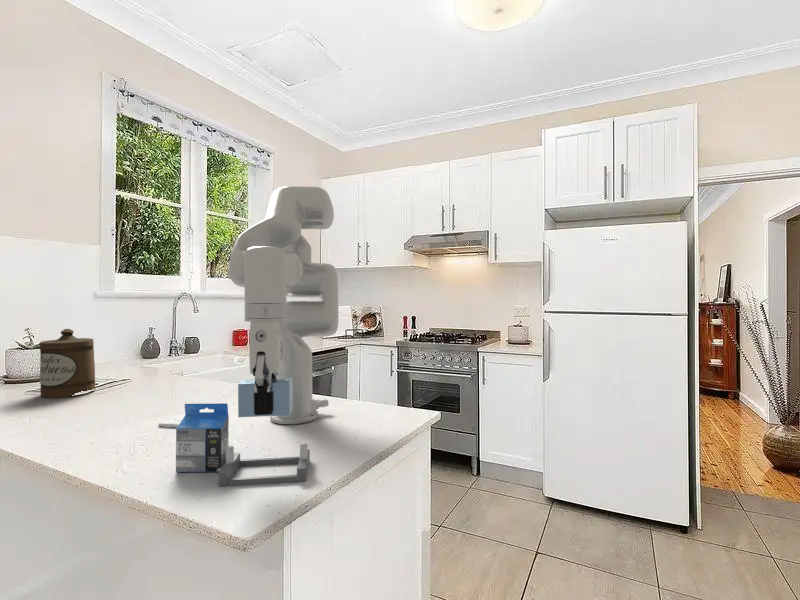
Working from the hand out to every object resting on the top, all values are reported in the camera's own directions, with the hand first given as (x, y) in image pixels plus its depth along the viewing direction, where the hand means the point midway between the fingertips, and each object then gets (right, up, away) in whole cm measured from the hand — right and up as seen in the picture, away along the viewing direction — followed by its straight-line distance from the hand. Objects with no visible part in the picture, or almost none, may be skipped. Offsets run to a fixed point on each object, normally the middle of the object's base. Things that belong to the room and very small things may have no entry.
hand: (266, 409), depth 82 cm
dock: (0, -12, 0) cm, 12 cm away
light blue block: (0, -1, 0) cm, 1 cm away
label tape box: (-13, -12, +3) cm, 18 cm away
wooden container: (-88, -12, +67) cm, 111 cm away
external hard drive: (-31, -13, +34) cm, 48 cm away
